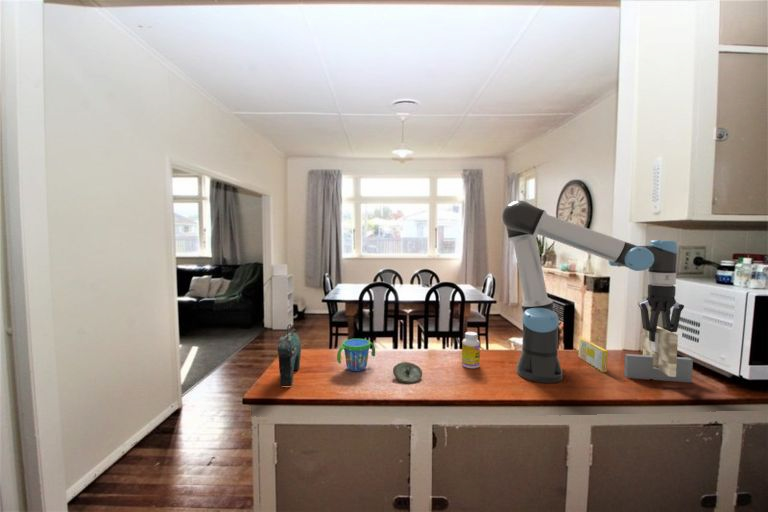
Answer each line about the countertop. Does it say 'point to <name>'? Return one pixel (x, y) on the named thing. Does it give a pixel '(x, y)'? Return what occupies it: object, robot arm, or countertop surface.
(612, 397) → the countertop surface
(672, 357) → the beige brown notched block
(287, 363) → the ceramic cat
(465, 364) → the supplement bottle
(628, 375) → the grey notched base plate
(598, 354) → the candy box
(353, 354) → the snack cup
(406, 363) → the lid
